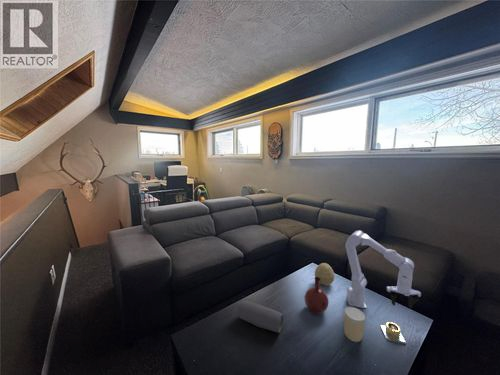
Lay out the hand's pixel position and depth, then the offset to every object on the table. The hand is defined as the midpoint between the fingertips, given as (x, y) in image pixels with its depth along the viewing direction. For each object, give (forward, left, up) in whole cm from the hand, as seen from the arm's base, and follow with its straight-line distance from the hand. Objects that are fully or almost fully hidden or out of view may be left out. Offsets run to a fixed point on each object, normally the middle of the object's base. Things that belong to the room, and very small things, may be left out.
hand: (401, 305), depth 104 cm
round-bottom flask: (-43, -3, -10) cm, 44 cm away
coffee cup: (-26, -15, -10) cm, 32 cm away
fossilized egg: (-36, +24, -10) cm, 44 cm away
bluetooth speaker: (-72, -21, -10) cm, 76 cm away
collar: (-7, -10, -9) cm, 15 cm away
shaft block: (-7, -10, -10) cm, 16 cm away
